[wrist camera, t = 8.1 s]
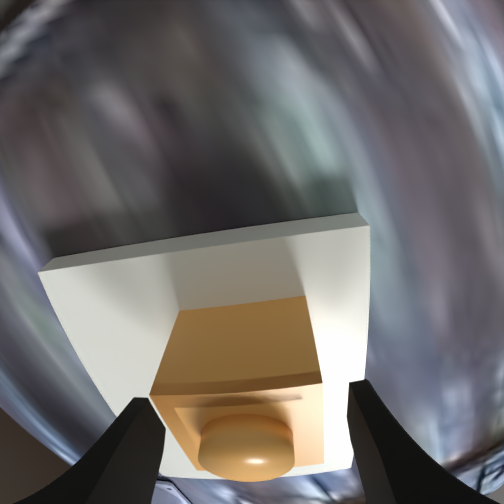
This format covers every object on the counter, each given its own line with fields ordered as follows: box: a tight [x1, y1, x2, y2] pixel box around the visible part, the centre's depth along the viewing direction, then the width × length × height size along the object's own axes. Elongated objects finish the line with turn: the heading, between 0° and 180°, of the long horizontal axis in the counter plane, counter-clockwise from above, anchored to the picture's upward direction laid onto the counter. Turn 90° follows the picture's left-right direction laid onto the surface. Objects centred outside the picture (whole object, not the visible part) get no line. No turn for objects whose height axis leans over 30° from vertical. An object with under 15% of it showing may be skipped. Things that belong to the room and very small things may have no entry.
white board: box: [38, 213, 370, 479], centre depth 16 cm, size 18×14×2 cm
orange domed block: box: [149, 295, 324, 482], centre depth 11 cm, size 5×5×6 cm
